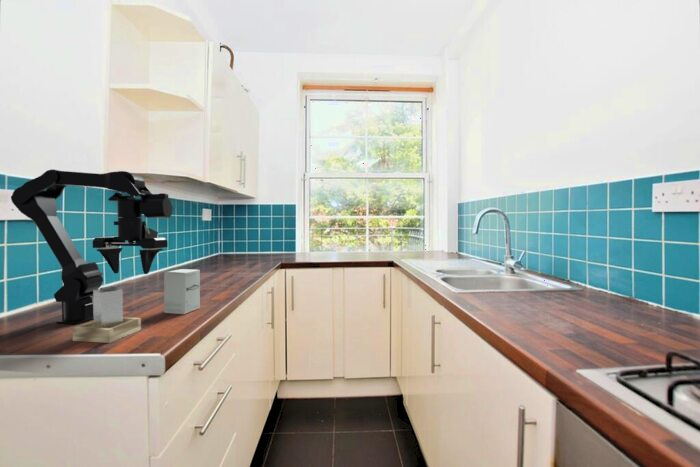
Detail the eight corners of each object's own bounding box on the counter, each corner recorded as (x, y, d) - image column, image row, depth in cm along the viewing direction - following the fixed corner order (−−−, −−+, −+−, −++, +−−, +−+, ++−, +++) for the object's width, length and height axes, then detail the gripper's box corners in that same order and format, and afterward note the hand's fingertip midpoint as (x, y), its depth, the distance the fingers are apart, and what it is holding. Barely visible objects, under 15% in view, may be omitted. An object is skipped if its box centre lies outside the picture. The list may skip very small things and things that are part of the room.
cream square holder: (72, 340, 77) (72, 327, 76) (107, 327, 86) (107, 316, 86) (109, 342, 75) (109, 329, 75) (141, 329, 85) (140, 318, 85)
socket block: (93, 331, 80) (93, 287, 80) (115, 326, 84) (114, 285, 83) (101, 335, 78) (100, 290, 77) (123, 330, 81) (122, 287, 81)
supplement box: (185, 314, 99) (184, 272, 98) (163, 313, 100) (163, 271, 100) (200, 308, 106) (200, 269, 105) (180, 307, 107) (180, 268, 107)
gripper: (179, 218, 99) (180, 270, 99) (123, 218, 101) (124, 268, 102) (152, 217, 88) (153, 276, 88) (90, 217, 90) (91, 274, 91)
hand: (131, 273), depth 93 cm, fingers open, 9 cm apart
